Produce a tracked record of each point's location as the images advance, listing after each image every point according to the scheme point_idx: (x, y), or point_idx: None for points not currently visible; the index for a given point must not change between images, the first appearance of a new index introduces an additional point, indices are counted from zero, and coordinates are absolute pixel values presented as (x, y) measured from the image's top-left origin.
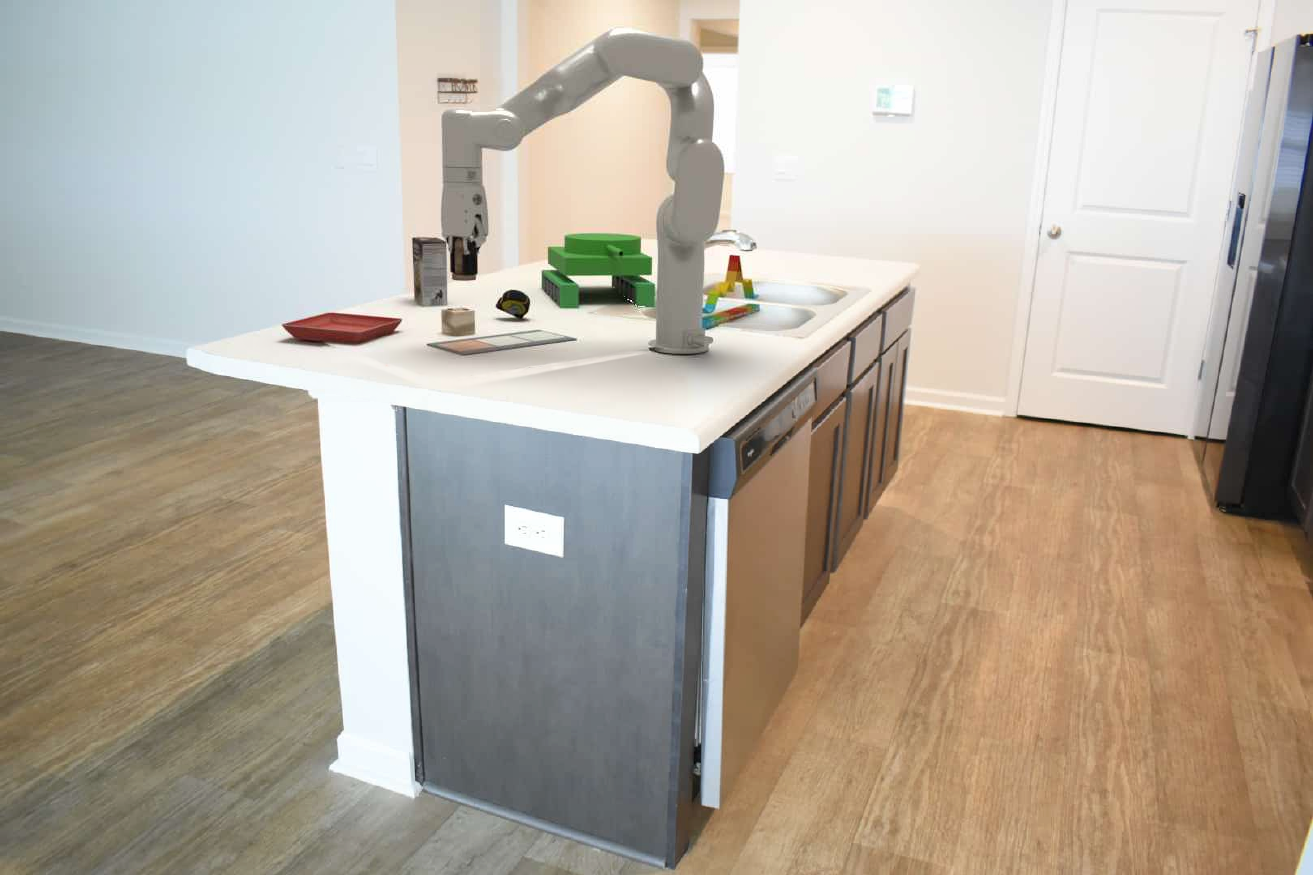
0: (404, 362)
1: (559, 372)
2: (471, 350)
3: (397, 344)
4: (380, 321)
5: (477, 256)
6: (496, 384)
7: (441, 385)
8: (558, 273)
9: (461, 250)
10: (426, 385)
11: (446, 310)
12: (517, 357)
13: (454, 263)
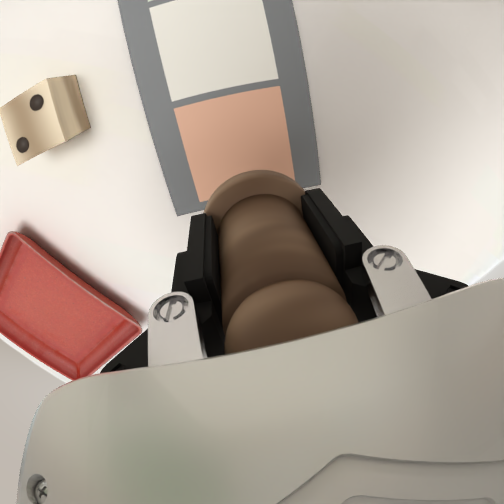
0: None
1: (492, 117)
2: (295, 155)
3: (151, 261)
4: (3, 259)
5: (354, 232)
6: (485, 224)
7: (450, 277)
8: None
9: None
10: None
11: (33, 156)
12: (387, 97)
13: None
